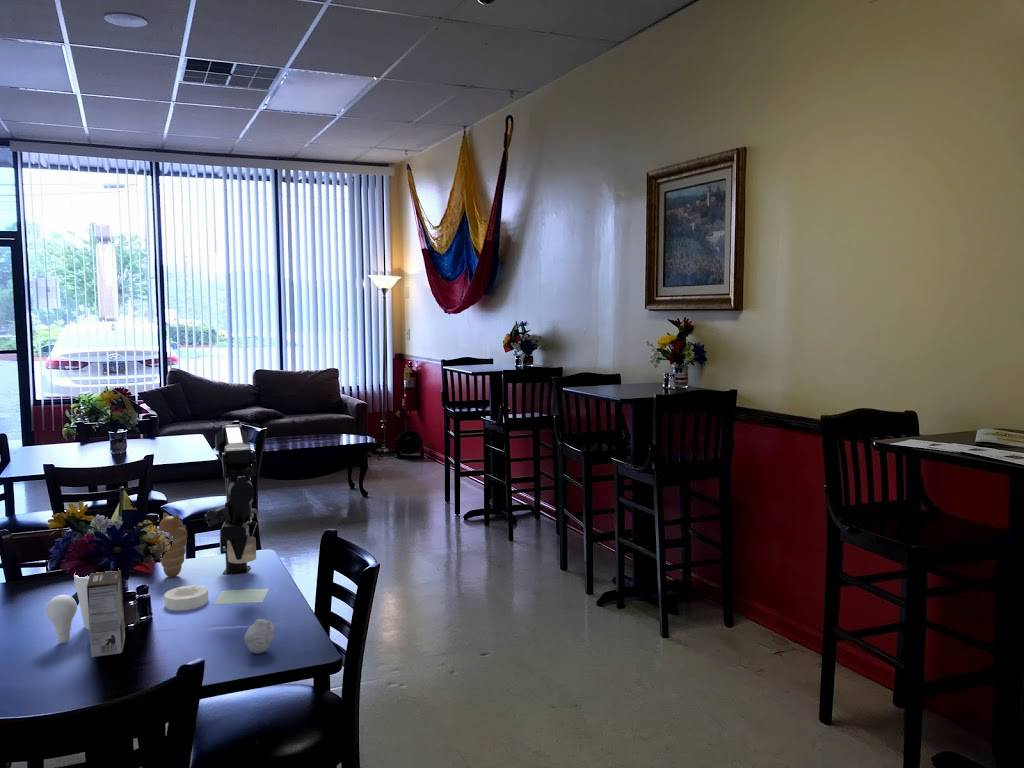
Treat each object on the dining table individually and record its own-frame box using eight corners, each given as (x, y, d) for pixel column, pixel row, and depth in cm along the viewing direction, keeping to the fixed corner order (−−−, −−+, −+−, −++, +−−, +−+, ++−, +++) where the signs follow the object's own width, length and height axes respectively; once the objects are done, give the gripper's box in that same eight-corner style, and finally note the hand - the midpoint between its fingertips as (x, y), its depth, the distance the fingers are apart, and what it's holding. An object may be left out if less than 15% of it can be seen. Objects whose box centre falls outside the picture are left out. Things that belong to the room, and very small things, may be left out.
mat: (222, 592, 213) (222, 590, 213) (269, 589, 215) (269, 588, 215) (213, 605, 204) (213, 604, 203) (262, 603, 205) (262, 602, 205)
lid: (231, 555, 211) (230, 536, 211) (258, 554, 212) (257, 535, 212) (225, 563, 204) (224, 544, 204) (253, 562, 205) (252, 543, 205)
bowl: (172, 598, 209) (171, 586, 209) (212, 596, 210) (211, 584, 210) (160, 612, 199) (159, 600, 199) (202, 610, 200) (201, 598, 200)
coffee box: (94, 642, 182) (90, 572, 180) (125, 637, 184) (122, 568, 183) (89, 658, 173) (85, 585, 172) (122, 653, 176) (118, 581, 174)
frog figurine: (281, 648, 178) (280, 617, 177) (259, 660, 171) (258, 629, 171) (260, 643, 180) (258, 613, 180) (237, 656, 174) (236, 624, 173)
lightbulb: (83, 642, 182) (80, 595, 181) (53, 651, 177) (50, 602, 176) (73, 635, 186) (70, 588, 185) (44, 643, 181) (41, 595, 180)
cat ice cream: (195, 574, 228) (192, 512, 226) (173, 583, 221) (170, 518, 219) (172, 570, 232) (169, 509, 230) (149, 578, 224) (146, 515, 223)
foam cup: (108, 632, 187) (105, 578, 186) (69, 632, 187) (65, 578, 186) (128, 617, 196) (125, 565, 195) (91, 617, 197) (88, 565, 195)
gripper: (215, 488, 215) (218, 546, 216) (197, 505, 196) (200, 568, 198) (258, 487, 216) (260, 544, 218) (244, 504, 198) (246, 566, 199)
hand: (241, 555), depth 208 cm, fingers closed on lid, 7 cm apart
